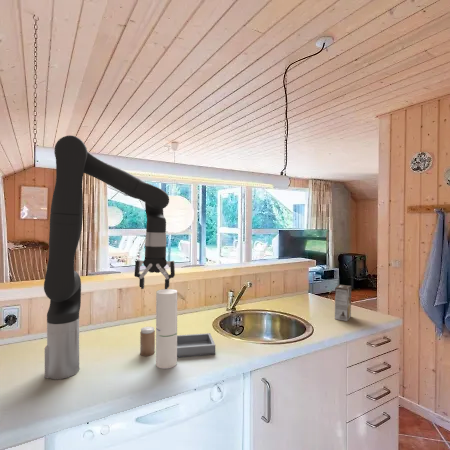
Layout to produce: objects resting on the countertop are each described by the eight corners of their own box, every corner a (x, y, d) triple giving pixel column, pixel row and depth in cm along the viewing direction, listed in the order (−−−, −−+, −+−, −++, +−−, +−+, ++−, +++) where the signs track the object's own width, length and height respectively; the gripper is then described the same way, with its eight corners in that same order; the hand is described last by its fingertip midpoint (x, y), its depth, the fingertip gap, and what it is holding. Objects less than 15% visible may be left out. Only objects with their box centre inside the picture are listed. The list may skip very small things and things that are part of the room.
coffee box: (338, 314, 165) (338, 284, 164) (351, 316, 161) (351, 285, 161) (334, 319, 157) (334, 287, 156) (347, 321, 153) (348, 289, 153)
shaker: (139, 356, 113) (139, 331, 112) (140, 350, 118) (140, 326, 117) (154, 355, 114) (154, 330, 113) (154, 349, 119) (154, 326, 119)
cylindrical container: (167, 356, 112) (168, 288, 112) (181, 362, 108) (181, 291, 107) (151, 364, 107) (151, 291, 106) (165, 370, 102) (165, 295, 102)
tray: (174, 357, 112) (174, 348, 112) (172, 344, 124) (172, 335, 123) (215, 354, 115) (215, 345, 115) (210, 341, 127) (210, 333, 127)
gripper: (133, 245, 110) (132, 290, 110) (174, 246, 110) (172, 291, 111) (138, 243, 117) (137, 286, 118) (176, 244, 118) (175, 287, 118)
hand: (154, 288), depth 114 cm, fingers open, 8 cm apart
